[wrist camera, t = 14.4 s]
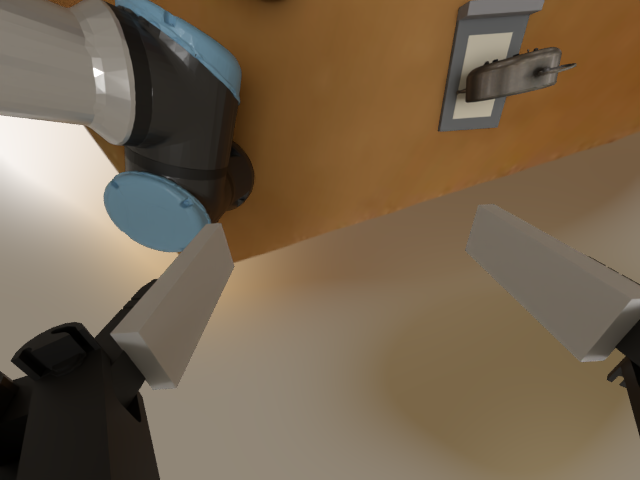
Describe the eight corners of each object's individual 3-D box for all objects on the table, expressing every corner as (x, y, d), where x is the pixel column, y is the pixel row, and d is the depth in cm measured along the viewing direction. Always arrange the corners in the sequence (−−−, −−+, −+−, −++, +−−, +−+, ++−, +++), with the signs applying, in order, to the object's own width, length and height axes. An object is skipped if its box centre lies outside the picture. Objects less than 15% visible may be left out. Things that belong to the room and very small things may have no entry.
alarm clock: (448, 104, 43) (515, 105, 29) (450, 68, 40) (525, 50, 26) (512, 89, 42) (612, 82, 28) (518, 51, 39) (633, 23, 25)
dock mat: (437, 131, 46) (445, 132, 43) (458, 7, 37) (470, 0, 34) (494, 126, 46) (505, 128, 43) (529, 2, 37) (545, -6, 34)
